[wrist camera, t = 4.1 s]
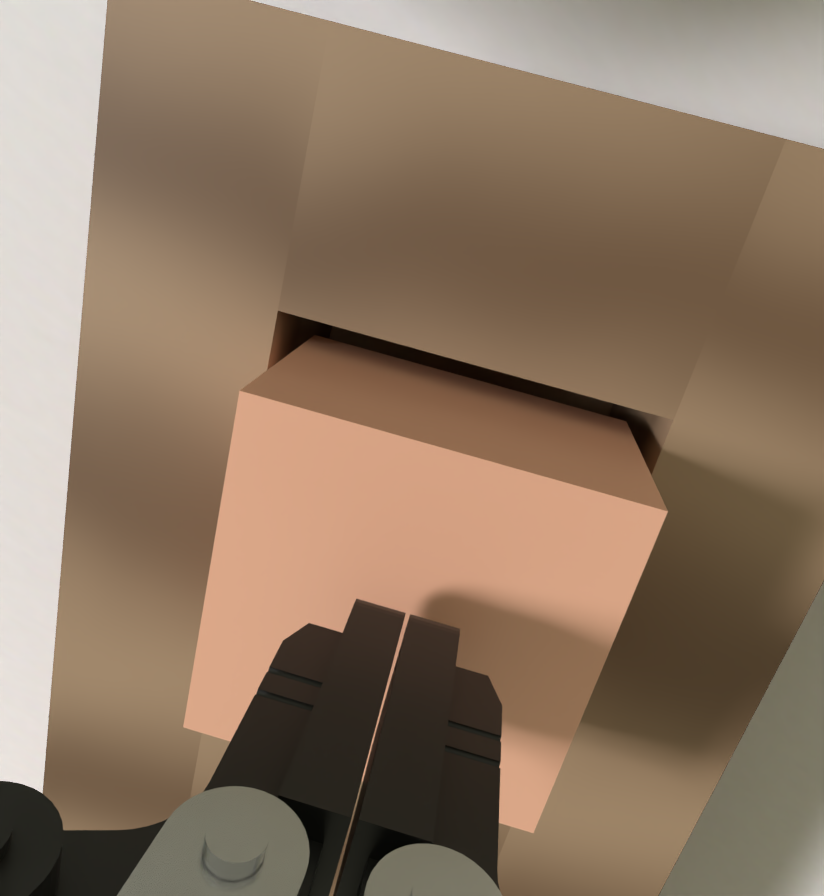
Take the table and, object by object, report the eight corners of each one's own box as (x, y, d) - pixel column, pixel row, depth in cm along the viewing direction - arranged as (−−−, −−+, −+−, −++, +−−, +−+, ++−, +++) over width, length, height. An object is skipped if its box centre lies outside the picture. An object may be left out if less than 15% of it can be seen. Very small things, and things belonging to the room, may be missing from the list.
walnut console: (246, 37, 17) (110, -37, 11) (849, 195, 16) (1023, 200, 11) (113, 954, 28) (14, 1144, 23) (464, 1065, 28) (451, 1289, 22)
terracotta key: (314, 334, 14) (239, 390, 10) (626, 421, 14) (667, 511, 10) (261, 600, 16) (182, 727, 12) (529, 679, 16) (533, 833, 12)
